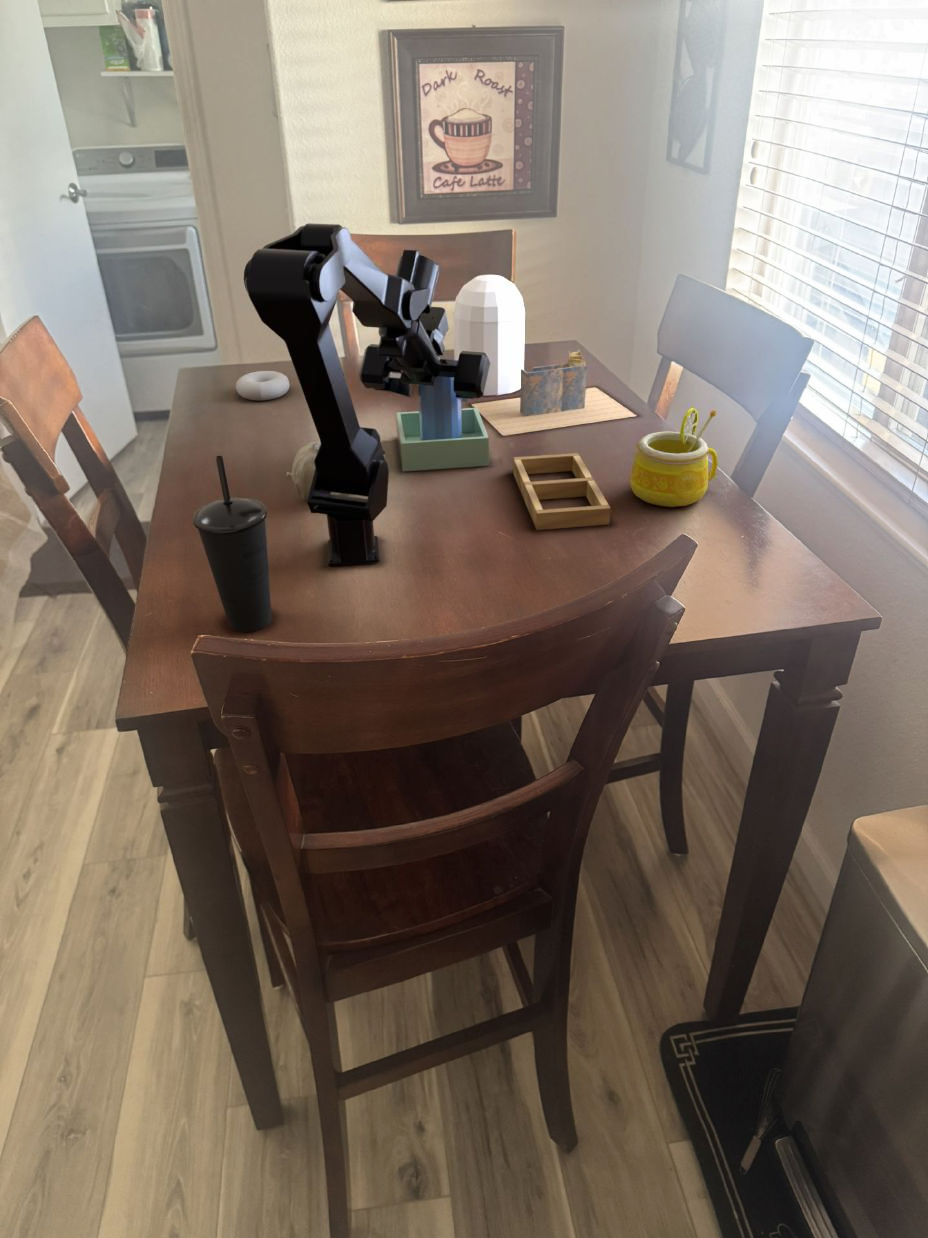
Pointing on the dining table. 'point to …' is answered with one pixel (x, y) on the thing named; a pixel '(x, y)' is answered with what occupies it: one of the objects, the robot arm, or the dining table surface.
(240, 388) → the donut
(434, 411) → the tumbler
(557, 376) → the architectural model on board
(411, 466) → the basin
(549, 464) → the wooden rectangular frame
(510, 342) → the container
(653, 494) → the mug
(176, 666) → the dining table surface
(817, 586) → the dining table surface
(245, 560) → the drinking cup
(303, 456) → the garlic bulb
